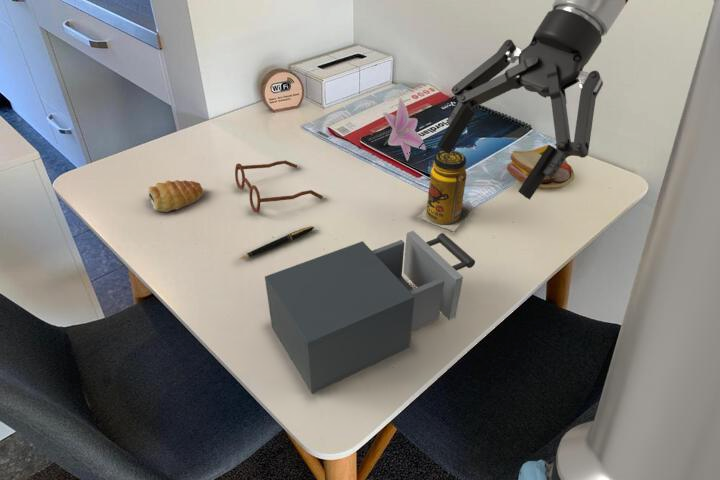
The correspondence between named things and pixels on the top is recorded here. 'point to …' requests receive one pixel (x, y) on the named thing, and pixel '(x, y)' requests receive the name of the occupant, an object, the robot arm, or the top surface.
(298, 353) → the cabinet
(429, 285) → the drawer
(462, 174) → the condiment
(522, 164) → the toy sandwich meal
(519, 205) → the top surface
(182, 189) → the pastry
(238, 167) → the glasses
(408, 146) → the lily
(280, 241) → the fountain pen
